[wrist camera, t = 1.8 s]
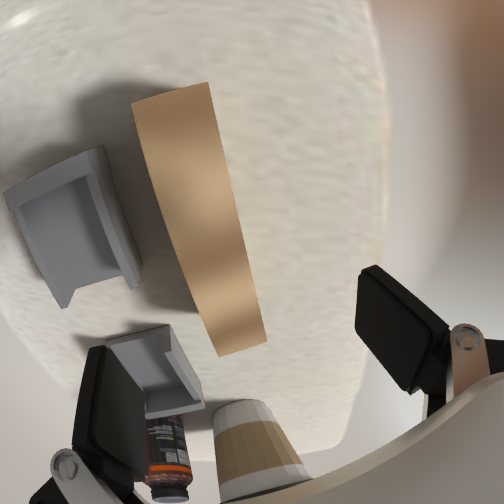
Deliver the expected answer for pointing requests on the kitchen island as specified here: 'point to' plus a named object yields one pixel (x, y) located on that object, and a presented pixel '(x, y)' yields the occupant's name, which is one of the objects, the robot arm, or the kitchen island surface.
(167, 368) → the cap
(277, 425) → the coffee cup
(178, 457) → the supplement bottle
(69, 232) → the cap
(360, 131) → the kitchen island surface
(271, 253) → the kitchen island surface
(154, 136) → the light wood rectangular block
